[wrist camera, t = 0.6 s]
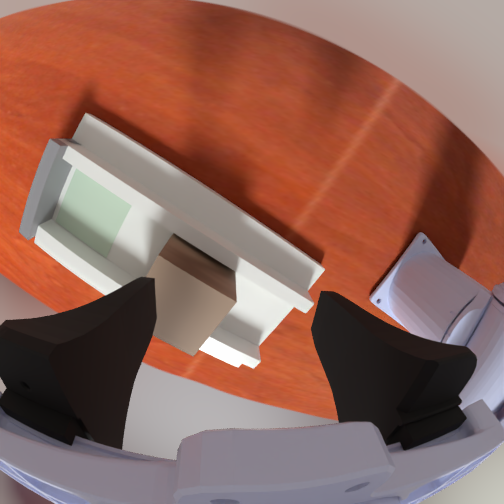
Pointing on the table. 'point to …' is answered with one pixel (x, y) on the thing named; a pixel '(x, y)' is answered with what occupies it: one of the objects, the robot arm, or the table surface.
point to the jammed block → (190, 294)
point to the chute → (160, 231)
